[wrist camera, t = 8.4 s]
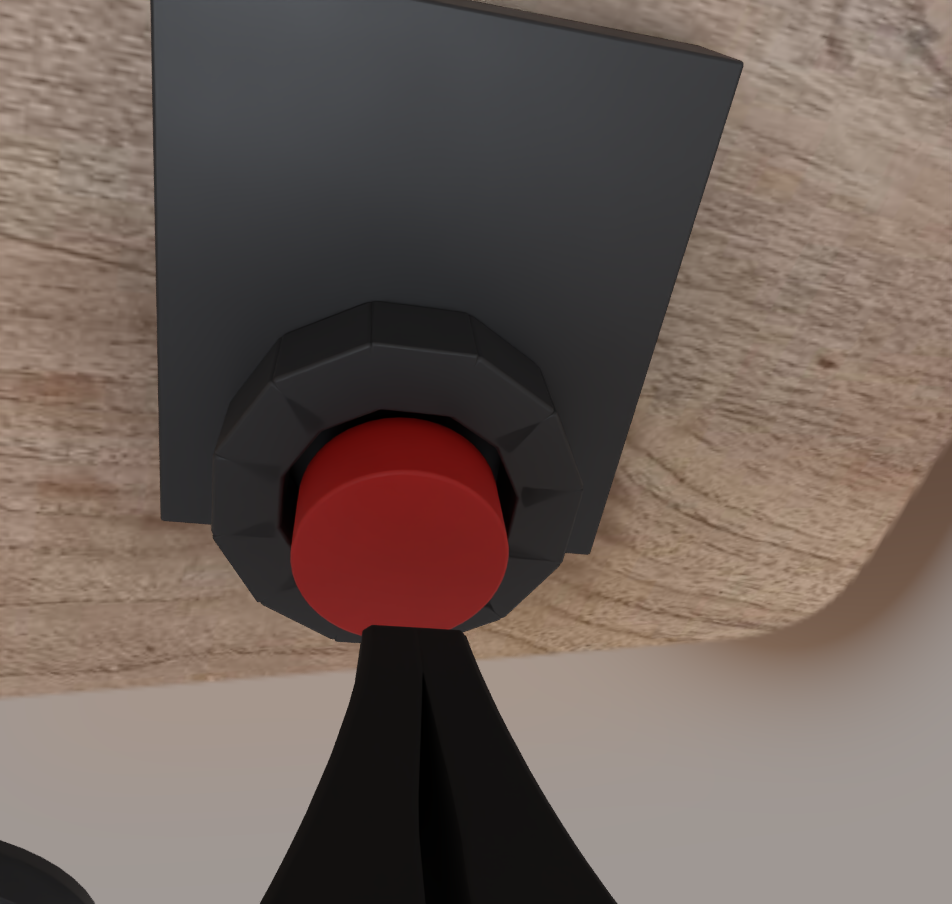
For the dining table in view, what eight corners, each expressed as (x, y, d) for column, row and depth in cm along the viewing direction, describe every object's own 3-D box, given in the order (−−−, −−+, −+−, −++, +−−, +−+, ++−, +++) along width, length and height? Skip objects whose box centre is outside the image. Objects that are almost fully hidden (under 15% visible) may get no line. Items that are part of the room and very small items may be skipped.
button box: (559, 539, 21) (594, 657, 17) (182, 508, 19) (140, 631, 16) (700, 45, 15) (794, 78, 12) (180, -58, 13) (113, -54, 10)
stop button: (478, 583, 16) (487, 647, 15) (292, 570, 16) (283, 636, 14) (514, 426, 15) (529, 483, 13) (306, 404, 14) (298, 460, 12)
